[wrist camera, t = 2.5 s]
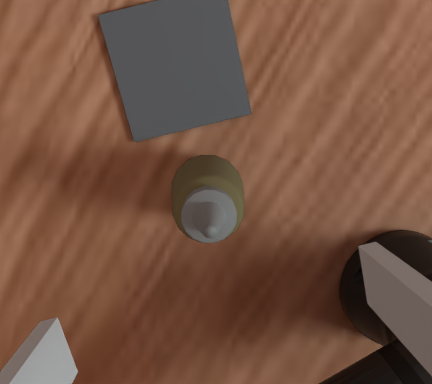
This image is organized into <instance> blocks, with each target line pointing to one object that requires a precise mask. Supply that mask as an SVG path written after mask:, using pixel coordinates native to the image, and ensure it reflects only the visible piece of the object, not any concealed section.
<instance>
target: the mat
mask: <svg viewBox="0 0 432 384" xmlns="http://www.w3.org/2000/svg"><path fill="white" fill-rule="evenodd" d="M98 17H99V21H100V24H101V28H102V31H103V35H104V38H105V42H106V45H107V49H108V52H109V56H110V59H111V63H112V66H113V70H114V73H115V77H116V80H117V84H118V87H119V91H120V94H121V98H122V101H123V105H124V108H125V112H126V115H127V119H128V122H129V126H130V129H131V133H132V136H133V140H134V142H137V141H141V140H145V139H149V138H153V137H157V136H162V135H166V134H170V133H174V132H178V131H182V130H186V129H190V128H194V127H199V126H203V125H207V124H211V123H215V122H219V121H223V120H227V119H231V118H236V117H240V116H244V115H248V114H252V113H251V109H250V104H249V99H248V95H247V90H246V85H245V80H244V76H243V71H242V66H241V61H240V57H239V52H238V47H237V42H236V38H235V33H234V28H233V24H232V19H231V14H230V9H229V5H228V0H157V1H153V2H149V3H145V4H141V5H137V6H133V7H129V8H125V9H121V10H117V11H113V12H109V13H104V14H100V15H98Z"/></svg>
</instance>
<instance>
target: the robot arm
mask: <svg viewBox="0 0 432 384" xmlns="http://www.w3.org/2000/svg"><path fill="white" fill-rule="evenodd" d="M358 248H359V249H358V250H357V251H356V252H355V253H354V254H353V255H352V256H351V258H350V259H349V261H348V262H347V264H346V266H345V268H344V271H343V273H342V277H341V281H340V299H341V303H342V306H343V309H344V311H345V313H346V315H347V316H348V317H349V319H350V320H351V322H352V323H353V324H354V326H355V327H356V328H357V329H358V330H359V331H360V332H361V333H362V334H363V335H364V336H366V337H367V338H369V339H371V340H372V341H374V342H376V343H379V344H381V345H382V346H384V347H382V348H380V349H378V350H376V351H375V352H373V353H371V354H370V355H368V356H366V357H364V358H363V359H361V360H359V361H357V362H356V363H354V364H352V365H350V366H349V367H347V368H345V369H343V370H342V371H340V372H338V373H336V374H335V375H333V376H331V377H329V378H328V379H326V380H324V381H322V382H321V383H319V384H432V238H430V237H428V236H427V235H424V234H422V233H418V232H414V231H403V230H402V231H392V232H388V233H384V234H381V235H379V236H376V237H374V238H373V239H371V240H369V241H368V242H366V243H365V244H363V245H360V246H358ZM77 373H78V371H77V368H76V366H75V363H74V360H73V357H72V355H71V352H70V349H69V347H68V344H67V341H66V339H65V336H64V333H63V330H62V328H61V325H60V322H59V320H58V317H57V318H52V319H48V320H44V321H40V322H39V324H38V325H37V326H36V327H35V329H34V330H33V331H32V332H31V334H30V335H29V336H28V337H27V339H26V340H25V341H24V342H23V344H22V345H21V346H20V347H19V349H18V350H17V351H16V352H15V354H14V355H13V356H12V358H11V359H10V360H9V361H8V363H7V364H6V365H5V366H4V368H3V369H2V370H1V371H0V384H72V383H73V381H74V379H75V377H76V375H77Z"/></svg>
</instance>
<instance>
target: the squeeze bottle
mask: <svg viewBox="0 0 432 384" xmlns="http://www.w3.org/2000/svg"><path fill="white" fill-rule="evenodd" d="M172 211H173V217H174V219H175V221H176V224H177V226H178V228H179V229H180V230H181V231H182V232H183V233H184V234H185V235H186V236H187V237H189V238H191V239H194V240H196V241H198V242H202V243H215V242H218V241H220V240H223V239H226V238H228V237H229V236H230V235H231V234H232V233H233V232H234V231H236V230H237V229H238V227H239V225H240V223H241V221H242V219H243V217H244V191H243V183H242V180H241V178H240V175H239V172H238V171H237V170H236V169H235V168H234V166H233V165H232V164H231V163H230V162H229V161H227V160H225V159H223V158H220V157H218V156H216V155H200V156H197V157H194V158H192V159H189V160H187V161H186V162H185V163H184V164H183V165H182V166H181V167H180V168H179V169H178V170H177V172H176V174H175V177H174V179H173V181H172Z"/></svg>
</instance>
